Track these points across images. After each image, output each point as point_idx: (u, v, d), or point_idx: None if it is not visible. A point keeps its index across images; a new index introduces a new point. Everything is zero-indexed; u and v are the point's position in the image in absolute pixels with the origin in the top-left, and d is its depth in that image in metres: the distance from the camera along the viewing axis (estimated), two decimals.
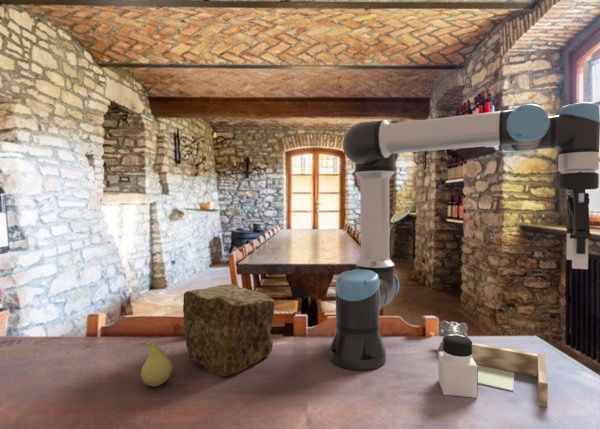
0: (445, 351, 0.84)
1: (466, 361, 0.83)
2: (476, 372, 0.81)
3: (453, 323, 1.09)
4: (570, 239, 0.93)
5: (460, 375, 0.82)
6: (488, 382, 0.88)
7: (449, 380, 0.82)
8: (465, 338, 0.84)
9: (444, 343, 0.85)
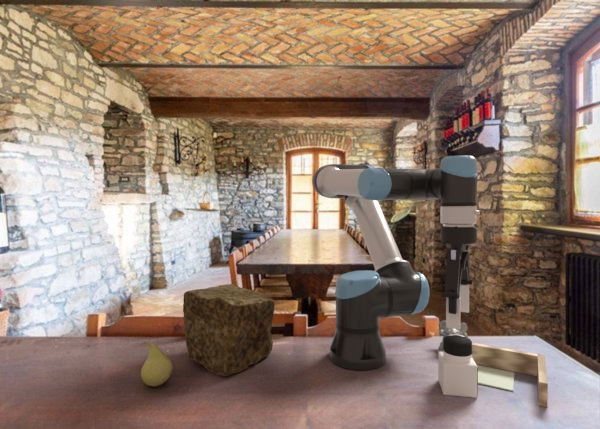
0: (445, 351, 0.84)
1: (466, 361, 0.83)
2: (476, 372, 0.81)
3: None
4: (459, 290, 0.90)
5: (460, 375, 0.82)
6: (488, 382, 0.88)
7: (449, 380, 0.82)
8: (465, 338, 0.84)
9: (444, 343, 0.85)
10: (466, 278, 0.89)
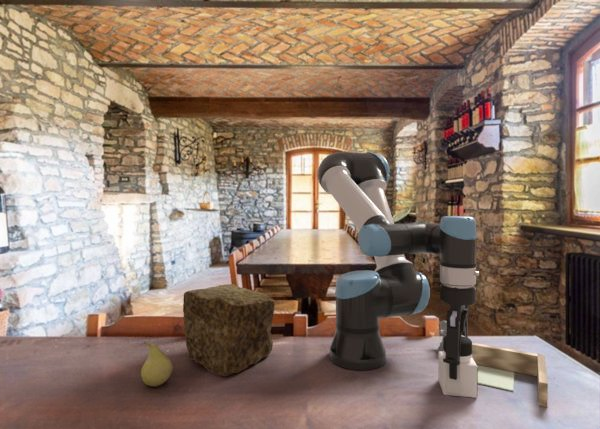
0: (445, 351, 0.84)
1: (466, 361, 0.82)
2: (476, 372, 0.81)
3: None
4: None
5: None
6: (488, 382, 0.88)
7: None
8: (465, 338, 0.84)
9: (444, 343, 0.85)
10: None
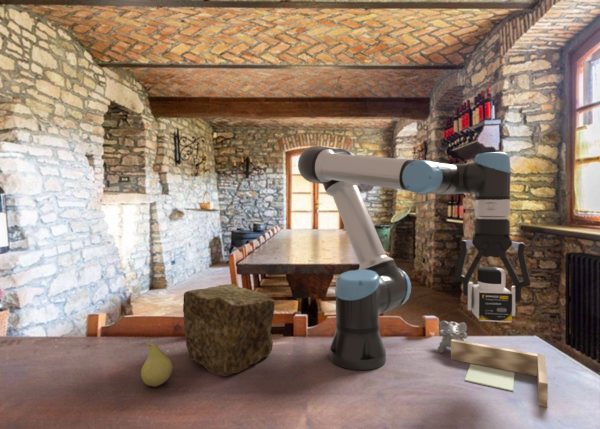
0: None
1: (482, 287, 0.89)
2: (478, 296, 0.87)
3: (452, 323, 1.09)
4: None
5: (475, 297, 0.91)
6: (488, 382, 0.88)
7: (472, 299, 0.93)
8: (491, 269, 0.88)
9: None
10: (511, 278, 0.87)
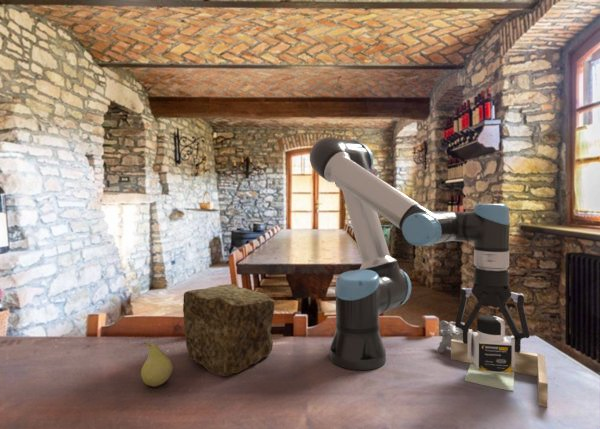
0: None
1: (482, 337, 0.89)
2: (478, 347, 0.88)
3: (452, 323, 1.09)
4: None
5: (474, 345, 0.91)
6: (488, 382, 0.88)
7: (472, 347, 0.93)
8: (491, 319, 0.89)
9: None
10: None
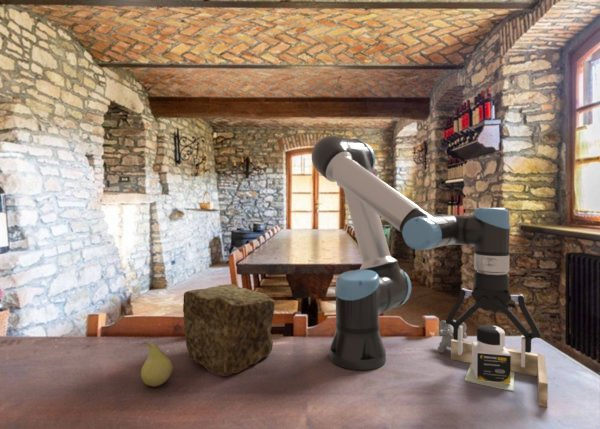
0: None
1: (481, 347, 0.90)
2: (477, 356, 0.88)
3: None
4: None
5: (474, 355, 0.91)
6: (488, 382, 0.88)
7: (472, 356, 0.94)
8: (490, 329, 0.89)
9: None
10: None
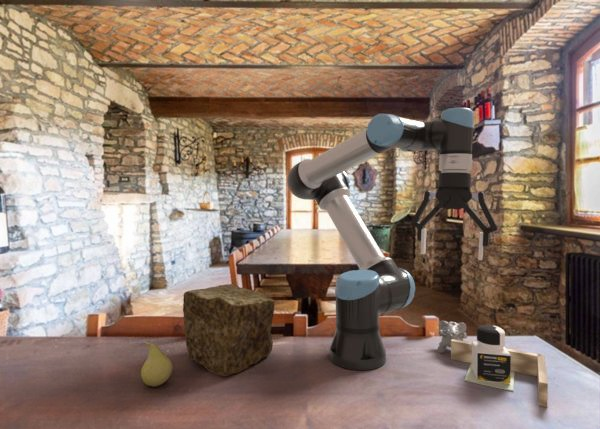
0: None
1: (481, 347, 0.90)
2: (477, 356, 0.88)
3: (452, 323, 1.09)
4: None
5: (474, 355, 0.91)
6: (488, 382, 0.88)
7: (472, 356, 0.94)
8: (490, 329, 0.89)
9: None
10: (478, 225, 0.90)
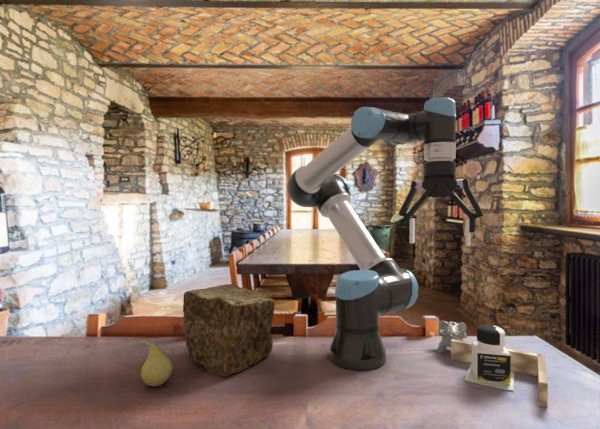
0: None
1: (481, 347, 0.90)
2: (477, 356, 0.88)
3: (452, 323, 1.09)
4: None
5: (474, 355, 0.91)
6: (488, 382, 0.88)
7: (472, 356, 0.94)
8: (490, 329, 0.89)
9: None
10: (464, 212, 0.92)
